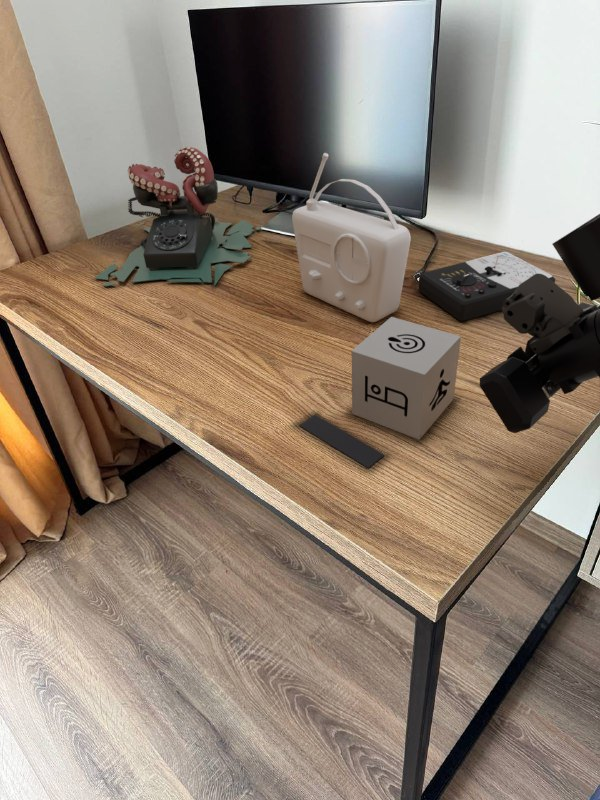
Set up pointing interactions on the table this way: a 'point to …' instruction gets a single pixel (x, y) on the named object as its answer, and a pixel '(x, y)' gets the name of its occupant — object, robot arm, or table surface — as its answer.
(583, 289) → the robot arm
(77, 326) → the table surface
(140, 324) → the table surface
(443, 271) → the multimeter
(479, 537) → the table surface
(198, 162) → the telephone
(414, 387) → the icon cube
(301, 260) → the radio
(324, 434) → the felt mark
